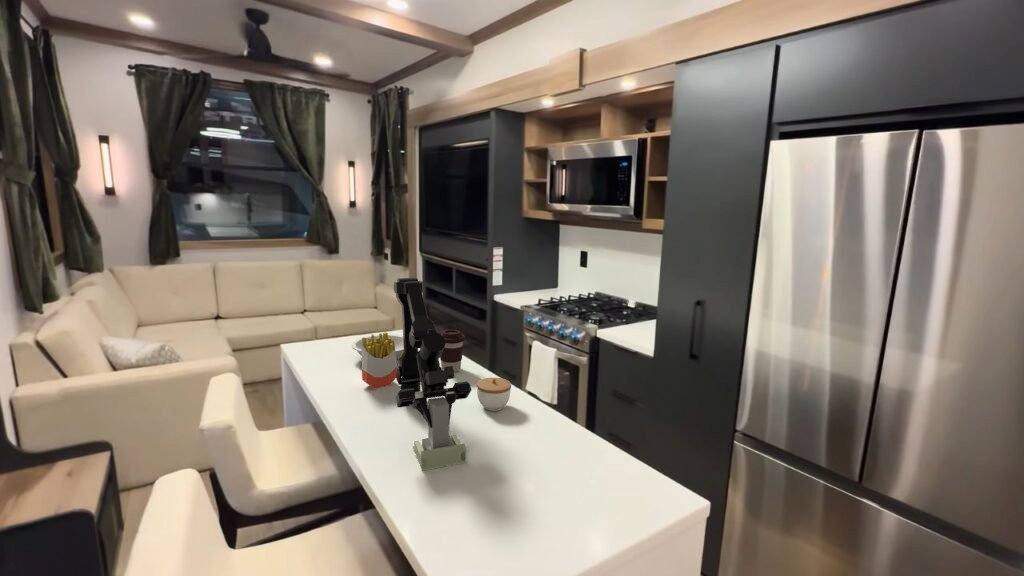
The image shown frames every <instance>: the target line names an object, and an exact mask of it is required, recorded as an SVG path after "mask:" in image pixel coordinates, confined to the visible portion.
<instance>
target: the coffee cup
mask: <svg viewBox="0 0 1024 576" xmlns="http://www.w3.org/2000/svg"><path fill="white" fill-rule="evenodd" d="M440 334H441V335H442V336H443V337H444V339H445V341H446V344H445V347H444V349H443V352H442V354H441V357H440V358H439V359H440V360H439V361H440V367H441V369H442V370H444V368H445V367H447V366H453V370H454V373H458V372H460V371H461V367H462V360H463V350H464V341H465V337H466V336H465V334H463V333H461V331H460V330H457V329H445V330H443V331H442V332H441V333H440Z"/></svg>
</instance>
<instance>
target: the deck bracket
mask: <svg viewBox="0 0 1024 576" xmlns="http://www.w3.org/2000/svg"><path fill="white" fill-rule="evenodd" d="M450 438H451V440H452V442H453V443H454V445H453V446H448V447H442V448H436V449H431V450H425V451H424V449H423V447H422V443H421V442H420V440H419V439H418V440H414V443H413V444H414V445H412V449H413V452H414V454H416V455H415V456H416V459H418V460H417V462H418V464H420V465H419V467H420V469H422V470H421V471H422V472H423V470H424V471H429V470H434V469H433V468H435V469H439V467H440V468H444V466H445V467H450V466H453V465H454V464H455V465H459V464H460V465H461V464H465V463H466V460H467V459H466V455H467V453H466V452H467V445H466V444H465V443H461V441H460V439H459V438H458V435H457V434H456V433H454V434H450ZM449 465H450V466H449Z"/></svg>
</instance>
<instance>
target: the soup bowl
mask: <svg viewBox="0 0 1024 576" xmlns="http://www.w3.org/2000/svg"><path fill="white" fill-rule="evenodd" d="M365 337H366V343H367V344H368V338H371V335H368V336H365ZM378 337H379V334H376V335H374V341H376V338H378ZM362 338H363V337H360V338H358V339H356V340H354V341H352V344H351V348H352V349H353V350H355V351H356V352H357V353H358V354H359V355H360V356H361V357H362V351H361V345H363V344H362ZM388 338H391V339H393V341H394V344H395V350H396V360H397V359H400V358H401V356H402V354H403V352H404V342H403V335H399V334H388ZM382 339H383V334H382ZM383 341H384V340H383ZM371 342H372V339H371Z"/></svg>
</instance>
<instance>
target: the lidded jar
mask: <svg viewBox="0 0 1024 576" xmlns="http://www.w3.org/2000/svg"><path fill="white" fill-rule="evenodd" d="M511 388H512V383H511V382H510V381H509V380H508V379H505V378H501V377H486V378H482V379H479V380H478V381H477V382H476V389H477V390H476V392H477V394H476V395H477V399H478V402H479V403H480V404H481V405H482V407H483V408H484V409H485V410H486V411H489V412H490V411H491V412H498V411H500V410H502V409H504V407H505V406H506V405H507V403H508V402H509V400H510V397H511Z"/></svg>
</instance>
